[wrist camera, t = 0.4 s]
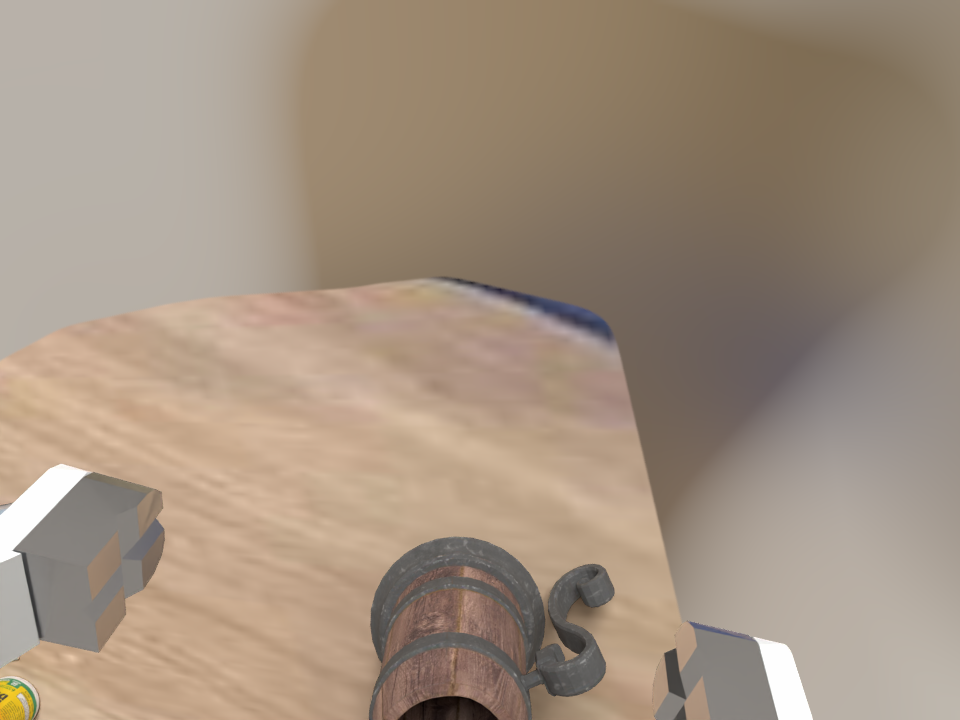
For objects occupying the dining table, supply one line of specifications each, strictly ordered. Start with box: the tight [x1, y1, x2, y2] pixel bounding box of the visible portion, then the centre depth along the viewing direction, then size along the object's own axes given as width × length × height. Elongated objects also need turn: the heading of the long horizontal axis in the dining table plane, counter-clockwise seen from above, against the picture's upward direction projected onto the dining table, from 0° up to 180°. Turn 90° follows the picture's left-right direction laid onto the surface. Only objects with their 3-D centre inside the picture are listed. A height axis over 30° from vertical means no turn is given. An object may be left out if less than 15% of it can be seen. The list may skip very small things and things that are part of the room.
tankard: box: [369, 537, 615, 720], centre depth 55 cm, size 24×17×20 cm
